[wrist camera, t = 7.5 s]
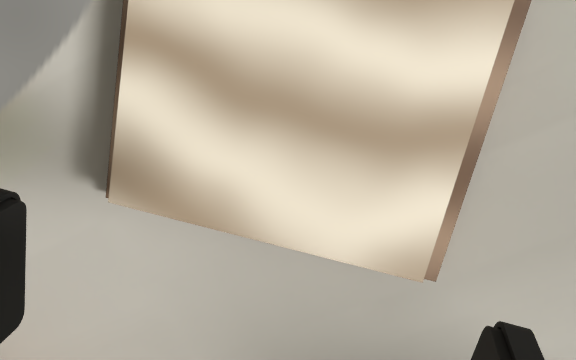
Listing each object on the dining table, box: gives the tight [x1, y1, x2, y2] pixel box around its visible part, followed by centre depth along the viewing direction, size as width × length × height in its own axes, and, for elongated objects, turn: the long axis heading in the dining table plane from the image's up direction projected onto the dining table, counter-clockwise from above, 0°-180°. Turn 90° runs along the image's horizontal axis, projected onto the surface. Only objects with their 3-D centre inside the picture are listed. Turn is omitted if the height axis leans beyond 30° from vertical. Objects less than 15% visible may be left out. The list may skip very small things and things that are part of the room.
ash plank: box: [108, 0, 514, 283], centre depth 23 cm, size 14×15×2 cm
